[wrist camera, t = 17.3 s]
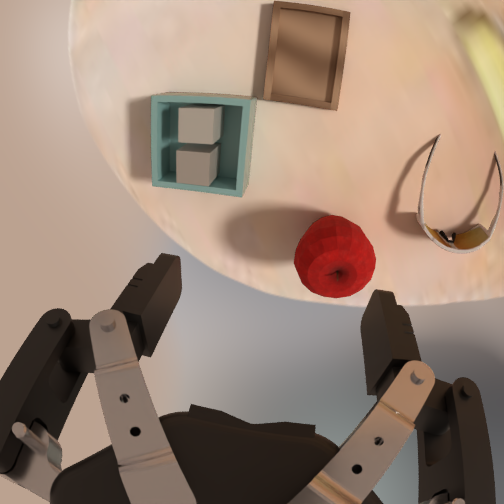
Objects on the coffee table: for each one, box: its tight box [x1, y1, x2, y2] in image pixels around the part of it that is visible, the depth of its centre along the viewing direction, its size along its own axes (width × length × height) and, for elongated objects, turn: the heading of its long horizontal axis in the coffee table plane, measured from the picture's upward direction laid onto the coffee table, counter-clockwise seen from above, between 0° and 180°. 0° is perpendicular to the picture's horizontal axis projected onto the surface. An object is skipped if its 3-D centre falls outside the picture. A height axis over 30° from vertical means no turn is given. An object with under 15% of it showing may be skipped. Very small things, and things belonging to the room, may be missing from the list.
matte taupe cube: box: [178, 103, 225, 144], centre depth 33 cm, size 4×4×5 cm
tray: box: [263, 1, 350, 111], centre depth 29 cm, size 13×9×1 cm
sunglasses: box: [416, 134, 503, 254], centre depth 34 cm, size 14×15×5 cm
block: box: [176, 143, 221, 186], centre depth 36 cm, size 4×4×5 cm
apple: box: [294, 215, 376, 298], centre depth 37 cm, size 10×10×11 cm
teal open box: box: [151, 92, 257, 197], centre depth 35 cm, size 12×12×4 cm
